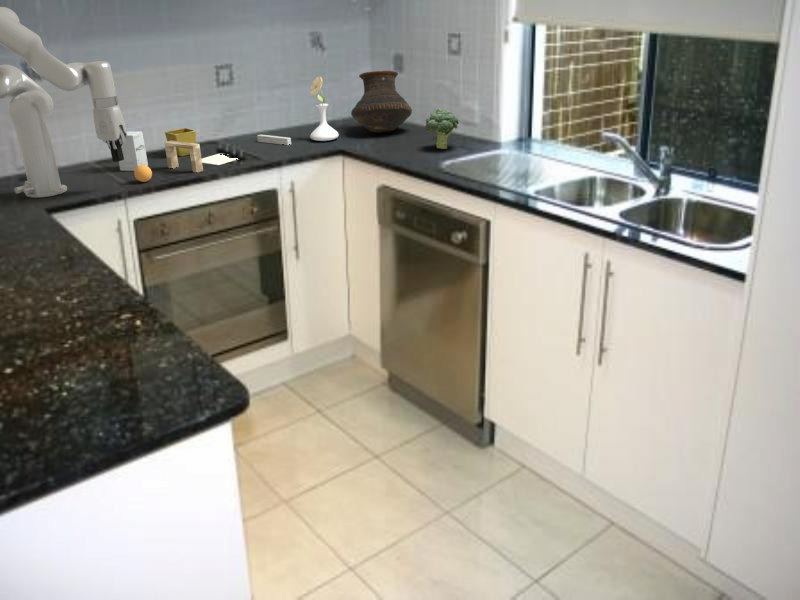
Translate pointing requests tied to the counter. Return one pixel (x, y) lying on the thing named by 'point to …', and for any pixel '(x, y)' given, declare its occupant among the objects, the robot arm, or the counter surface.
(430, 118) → the vegetable
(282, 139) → the wall
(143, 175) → the ball
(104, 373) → the counter surface
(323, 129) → the flower in vase
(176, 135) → the flower pot
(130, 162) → the supplement box
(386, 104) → the ceramic pot
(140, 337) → the counter surface
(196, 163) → the bridge
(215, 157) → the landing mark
